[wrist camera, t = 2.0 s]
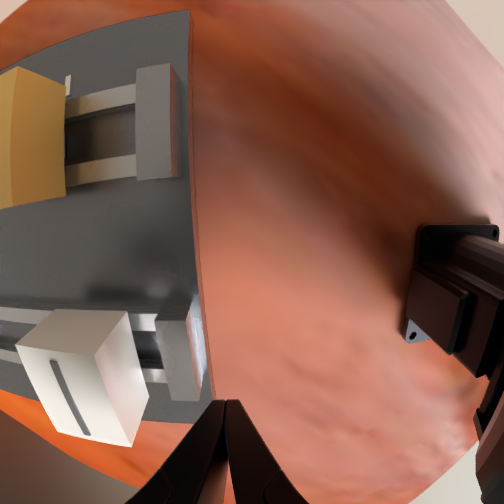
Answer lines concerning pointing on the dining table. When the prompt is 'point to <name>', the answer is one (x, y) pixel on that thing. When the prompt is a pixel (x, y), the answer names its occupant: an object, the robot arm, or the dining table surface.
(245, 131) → the dining table surface
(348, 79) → the dining table surface
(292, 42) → the dining table surface
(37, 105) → the fader amber
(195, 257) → the console
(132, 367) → the fader ivory
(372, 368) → the dining table surface
